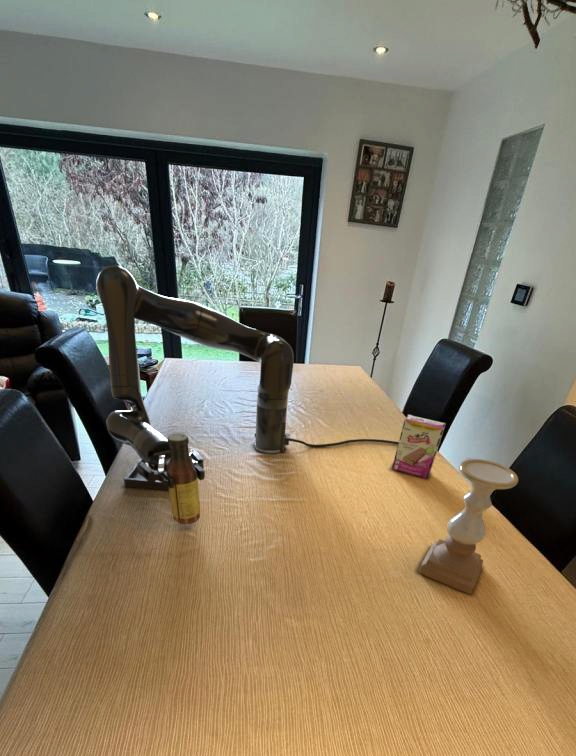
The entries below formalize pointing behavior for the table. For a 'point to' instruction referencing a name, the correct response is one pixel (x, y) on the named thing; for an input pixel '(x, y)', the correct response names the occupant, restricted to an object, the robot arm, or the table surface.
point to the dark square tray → (142, 480)
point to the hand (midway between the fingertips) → (187, 480)
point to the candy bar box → (418, 446)
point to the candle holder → (467, 527)
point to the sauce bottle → (183, 481)
